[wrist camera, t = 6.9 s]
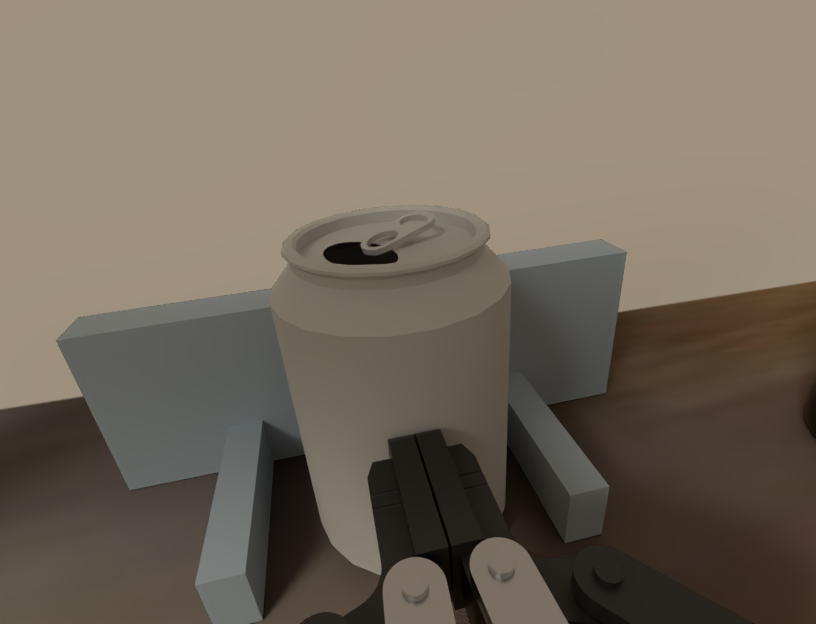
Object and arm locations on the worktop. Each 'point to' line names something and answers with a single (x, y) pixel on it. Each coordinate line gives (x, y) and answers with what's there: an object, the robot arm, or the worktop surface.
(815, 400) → the supplement bottle
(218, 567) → the stop bay
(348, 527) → the can
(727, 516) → the worktop surface
